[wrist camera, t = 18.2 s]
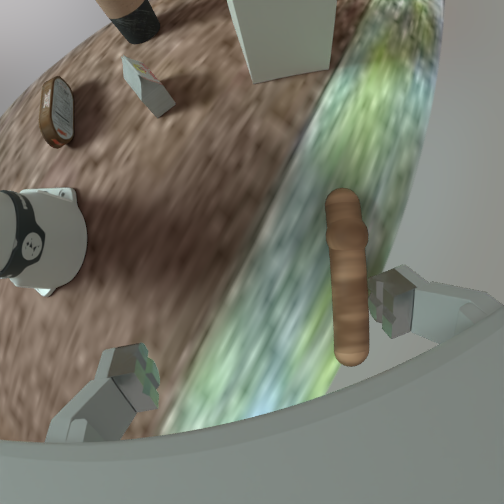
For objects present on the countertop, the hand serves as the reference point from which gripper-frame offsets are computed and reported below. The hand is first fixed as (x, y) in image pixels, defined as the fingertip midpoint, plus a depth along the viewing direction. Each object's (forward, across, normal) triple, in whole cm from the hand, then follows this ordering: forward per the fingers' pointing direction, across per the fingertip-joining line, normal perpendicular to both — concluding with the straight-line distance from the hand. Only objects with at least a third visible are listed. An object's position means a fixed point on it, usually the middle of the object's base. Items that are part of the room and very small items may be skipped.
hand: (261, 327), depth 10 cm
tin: (+49, +23, -17) cm, 57 cm away
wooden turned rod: (+23, -12, +14) cm, 30 cm away
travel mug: (+54, +6, -30) cm, 62 cm away
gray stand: (+42, -16, -19) cm, 49 cm away
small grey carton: (+44, +5, -14) cm, 46 cm away
